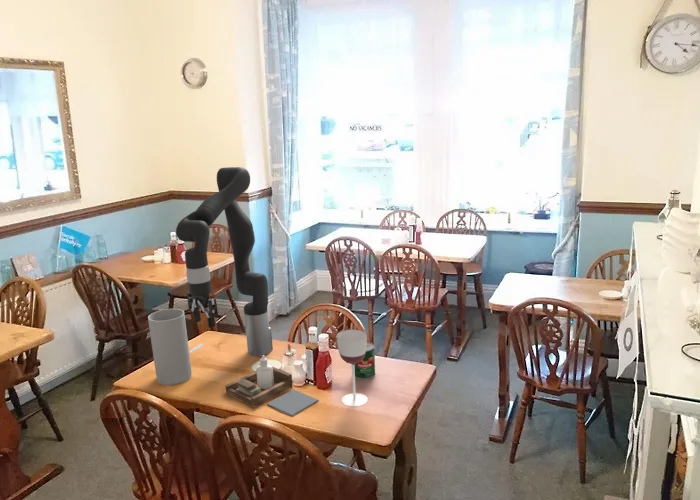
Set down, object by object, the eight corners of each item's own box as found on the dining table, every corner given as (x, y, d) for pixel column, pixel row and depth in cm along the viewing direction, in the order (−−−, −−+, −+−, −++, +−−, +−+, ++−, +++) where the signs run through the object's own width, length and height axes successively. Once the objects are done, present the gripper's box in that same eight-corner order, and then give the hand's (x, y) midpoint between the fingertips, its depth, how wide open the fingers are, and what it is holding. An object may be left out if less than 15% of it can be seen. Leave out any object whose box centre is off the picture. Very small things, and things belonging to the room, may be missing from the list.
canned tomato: (361, 381, 202) (360, 352, 200) (349, 373, 209) (348, 345, 206) (379, 375, 206) (378, 347, 204) (367, 367, 213) (366, 340, 210)
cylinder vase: (150, 379, 211) (141, 316, 205) (180, 367, 220) (172, 306, 214) (168, 389, 203) (159, 324, 197) (198, 376, 212) (190, 313, 205)
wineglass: (360, 409, 184) (357, 343, 178) (334, 402, 189) (330, 337, 183) (374, 396, 191) (372, 333, 186) (349, 390, 196) (346, 327, 191)
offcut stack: (245, 390, 200) (244, 377, 199) (261, 397, 195) (260, 385, 193) (236, 394, 198) (235, 381, 196) (252, 402, 192) (251, 389, 191)
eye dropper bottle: (268, 391, 198) (265, 359, 195) (255, 387, 201) (253, 356, 198) (276, 386, 202) (273, 354, 199) (264, 382, 205) (261, 351, 202)
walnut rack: (263, 375, 210) (262, 362, 209) (292, 387, 200) (291, 374, 199) (225, 393, 198) (224, 380, 197) (254, 407, 188) (253, 393, 187)
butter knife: (206, 344, 240) (200, 342, 241) (163, 373, 216) (156, 371, 217) (206, 345, 240) (200, 344, 241) (163, 374, 216) (157, 372, 217)
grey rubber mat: (293, 390, 198) (293, 389, 198) (318, 401, 190) (318, 399, 190) (267, 404, 189) (267, 403, 189) (292, 416, 182) (292, 415, 181)
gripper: (220, 279, 188) (226, 325, 192) (196, 272, 197) (202, 316, 201) (201, 286, 182) (207, 333, 187) (177, 278, 192) (183, 323, 196)
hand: (204, 324), depth 194 cm, fingers open, 8 cm apart
